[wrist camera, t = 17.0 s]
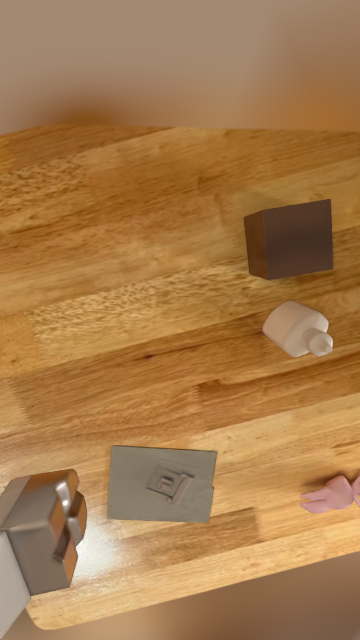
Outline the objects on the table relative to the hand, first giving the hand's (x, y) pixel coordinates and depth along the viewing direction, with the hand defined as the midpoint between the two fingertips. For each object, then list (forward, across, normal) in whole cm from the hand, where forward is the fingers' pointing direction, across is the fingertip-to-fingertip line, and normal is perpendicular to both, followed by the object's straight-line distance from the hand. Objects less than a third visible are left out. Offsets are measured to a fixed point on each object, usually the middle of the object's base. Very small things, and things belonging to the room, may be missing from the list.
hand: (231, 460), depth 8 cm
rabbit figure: (+31, -20, +34) cm, 50 cm away
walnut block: (+31, -13, -4) cm, 34 cm away
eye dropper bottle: (+31, -13, +6) cm, 34 cm away
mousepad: (+31, +2, +28) cm, 42 cm away
